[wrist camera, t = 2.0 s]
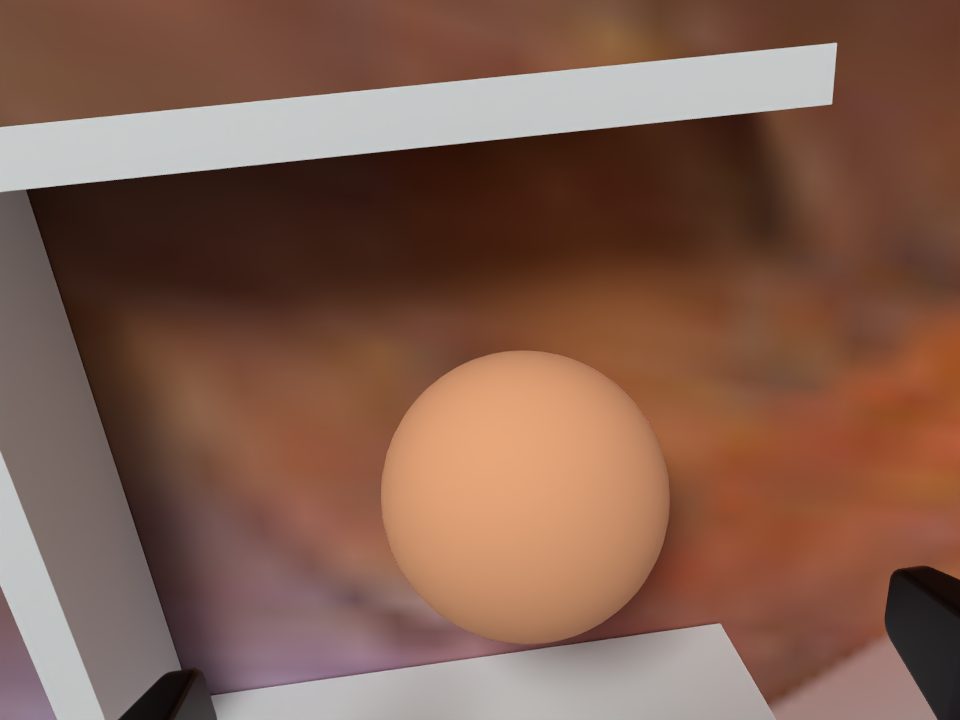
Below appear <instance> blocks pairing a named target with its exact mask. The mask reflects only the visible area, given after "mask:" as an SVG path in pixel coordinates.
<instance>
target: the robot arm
mask: <svg viewBox="0 0 960 720" xmlns="http://www.w3.org/2000/svg"><path fill="white" fill-rule="evenodd" d="M885 627H886V630H887V633H888V636H889V638H890V640H891V641H892V643H893V645H894V647H895V648H896V650H897V652H898V653H899V655H900V657H901V658H902V660H903V662H904V663H905V665H906V667H907V668H908V670H909V672H910V673H911V675H912V677H913V679H914V680H915V682H916V684H917V685H918V687H919V689H920V690H921V692H922V694H923V695H924V697H925V699H926V701H927V702H928V704H929V706H930V707H931V709H932V711H933V712H934V714H935V716H936V717H937V719H938V720H960V580H959V579H957V578H954V577H952V576H950V575H948V574H945V573H943V572H941V571H938V570H936V569H934V568H931V567H928V566H916V567H908V568H901V569H898V570H895V571H894V572H893V574H892V575H891V578H890V583H889V590H888V597H887V604H886V611H885ZM118 720H217V715H216V712H215V709H214V705H213V702H212V699H211V696H210V692H209V689H208V686H207V683H206V679H205V677H204V674H203V673H202V671H201V670H199V669H197V668H191V669H184V670H177V671H171V672H168V673H166V674H164V675H163V676H162V677H160V678H159V679H158V680H157V681H156V682H155V683H154V684H153V685H152V686H151V687H150V688H149V689H148V690H147V691H146V692H145V693H144V694H143V695H142V696H141V697H140V698H139V699H138V700H137V701H136V702H135V703H134V704H133V705H132V706H131V707H130V708H129V709H128V710H127V711H126V712H125V713H124V714H123V715H122V716H121V717H120V718H119V719H118Z"/></svg>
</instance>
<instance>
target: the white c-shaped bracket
mask: <svg viewBox="0 0 960 720" xmlns="http://www.w3.org/2000/svg"><path fill="white" fill-rule="evenodd" d="M836 50H837V43H831V44H821V45H811V46H801V47H791V48H781V49H771V50H761V51H751V52H741V53H732V54H722V55H712V56H702V57H692V58H682V59H672V60H662V61H652V62H643V63H633V64H623V65H613V66H603V67H593V68H583V69H573V70H563V71H553V72H544V73H534V74H524V75H514V76H504V77H494V78H484V79H474V80H464V81H454V82H445V83H435V84H425V85H415V86H405V87H395V88H385V89H375V90H365V91H355V92H346V93H336V94H326V95H316V96H306V97H296V98H286V99H276V100H266V101H256V102H247V103H237V104H227V105H217V106H207V107H197V108H187V109H177V110H167V111H157V112H148V113H138V114H128V115H118V116H108V117H98V118H88V119H78V120H68V121H58V122H49V123H39V124H29V125H19V126H9V127H0V585H1V588H2V590H3V592H4V595H5V597H6V600H7V602H8V604H9V607H10V609H11V611H12V614H13V616H14V618H15V621H16V623H17V626H18V628H19V630H20V633H21V635H22V637H23V640H24V642H25V644H26V647H27V649H28V652H29V654H30V656H31V659H32V661H33V663H34V666H35V668H36V670H37V673H38V675H39V678H40V680H41V682H42V685H43V687H44V689H45V692H46V694H47V696H48V699H49V701H50V704H51V706H52V708H53V711H54V713H55V715H56V718H57V720H118V719H119V718H120V717H121V716H122V715H123V714H124V713H125V712H126V711H127V710H128V709H129V708H130V707H131V706H132V705H133V704H134V703H135V702H136V701H137V700H138V699H139V698H140V697H141V696H142V695H143V694H144V693H145V692H146V691H147V690H148V689H149V688H150V687H151V686H152V685H153V684H154V683H155V682H156V681H157V680H158V679H159V678H160V677H162V676H163V675H164V674H166V673H168V672H171V671H177V670H182V669H181V666H180V663H179V660H178V657H177V654H176V651H175V648H174V645H173V642H172V638H171V635H170V632H169V629H168V626H167V623H166V620H165V617H164V614H163V611H162V608H161V605H160V601H159V598H158V595H157V592H156V589H155V586H154V583H153V580H152V577H151V574H150V571H149V568H148V564H147V561H146V558H145V555H144V552H143V549H142V546H141V543H140V540H139V537H138V534H137V531H136V528H135V524H134V521H133V518H132V515H131V512H130V509H129V506H128V503H127V500H126V497H125V494H124V491H123V487H122V484H121V481H120V478H119V475H118V472H117V469H116V466H115V463H114V460H113V457H112V454H111V451H110V447H109V444H108V441H107V438H106V435H105V432H104V429H103V426H102V423H101V420H100V417H99V414H98V410H97V407H96V404H95V401H94V398H93V395H92V392H91V389H90V386H89V383H88V380H87V377H86V373H85V370H84V367H83V364H82V361H81V358H80V355H79V352H78V349H77V346H76V343H75V340H74V337H73V333H72V330H71V327H70V324H69V321H68V318H67V315H66V312H65V309H64V306H63V303H62V300H61V296H60V293H59V290H58V287H57V284H56V281H55V278H54V275H53V272H52V269H51V266H50V263H49V259H48V256H47V253H46V250H45V247H44V244H43V241H42V238H41V235H40V232H39V229H38V226H37V223H36V219H35V216H34V213H33V210H32V207H31V204H30V201H29V198H28V195H27V192H26V189H33V188H43V187H52V186H62V185H71V184H81V183H90V182H100V181H109V180H119V179H128V178H138V177H147V176H157V175H166V174H176V173H185V172H195V171H204V170H213V169H223V168H232V167H242V166H251V165H261V164H270V163H280V162H289V161H299V160H308V159H318V158H327V157H337V156H346V155H356V154H365V153H375V152H384V151H394V150H403V149H413V148H422V147H432V146H441V145H451V144H460V143H470V142H479V141H489V140H498V139H507V138H517V137H526V136H536V135H545V134H555V133H564V132H574V131H583V130H593V129H602V128H612V127H621V126H631V125H640V124H650V123H659V122H669V121H678V120H688V119H697V118H707V117H716V116H726V115H735V114H745V113H754V112H764V111H773V110H782V109H792V108H801V107H811V106H820V105H830V104H832V98H833V86H834V74H835V62H836ZM211 699H212V702H213V705H214V709H215V712H216V715H217V720H776V718H775V717H774V715H773V713H772V711H771V710H770V708H769V706H768V705H767V703H766V701H765V699H764V698H763V696H762V694H761V693H760V691H759V689H758V687H757V686H756V684H755V682H754V681H753V679H752V677H751V675H750V674H749V672H748V670H747V669H746V667H745V665H744V663H743V662H742V660H741V658H740V657H739V655H738V653H737V651H736V650H735V648H734V646H733V645H732V643H731V641H730V639H729V638H728V636H727V634H726V633H725V631H724V629H723V627H722V626H721V624H720V623H719V624H712V625H705V626H698V627H691V628H684V629H677V630H670V631H662V632H655V633H648V634H641V635H634V636H627V637H620V638H613V639H606V640H599V641H592V642H585V643H578V644H571V645H564V646H557V647H550V648H543V649H536V650H529V651H522V652H515V653H508V654H501V655H494V656H487V657H479V658H472V659H465V660H458V661H451V662H444V663H437V664H430V665H423V666H416V667H409V668H402V669H395V670H388V671H381V672H374V673H367V674H360V675H353V676H346V677H339V678H332V679H325V680H318V681H311V682H304V683H296V684H289V685H282V686H275V687H268V688H261V689H254V690H247V691H240V692H233V693H226V694H219V695H212V696H211Z"/></svg>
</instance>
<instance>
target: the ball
mask: <svg viewBox="0 0 960 720" xmlns="http://www.w3.org/2000/svg"><path fill="white" fill-rule="evenodd" d="M381 505H382V516H383V523H384V527H385V531H386V535H387V538H388V542H389V545H390V548H391V550H392V553H393V555H394V557H395V560H396V562H397V564H398V565H399V567H400V569H401V571H402V572H403V574H404V576H405V577H406V579H407V580H408V582H409V584H410V585H411V586H412V587H413V589H414V590H415V591H416V592H417V593H418V595H419V596H420V597H421V598H422V599H423V600H424V601H425V602H426V603H427V604H428V605H429V606H430V607H432V608H433V609H434V610H435V611H436V612H437V613H438V614H440V615H441V616H443V617H444V618H446V619H447V620H449V621H450V622H452V623H453V624H455V625H457V626H459V627H461V628H463V629H465V630H467V631H469V632H470V633H473V634H476V635H478V636H481V637H484V638H487V639H492V640H496V641H500V642H508V643H516V644H540V643H549V642H554V641H560V640H564V639H567V638H570V637H573V636H576V635H579V634H581V633H583V632H586V631H588V630H590V629H592V628H594V627H596V626H597V625H599V624H601V623H602V622H604V621H605V620H607V619H608V618H610V617H611V616H612V615H614V614H615V613H616V612H617V611H619V610H620V609H621V608H622V607H623V606H624V605H625V604H627V603H628V602H629V601H630V599H631V598H632V597H633V596H634V595H635V594H636V593H637V592H638V590H639V589H640V588H641V586H642V585H643V583H644V582H645V581H646V579H647V577H648V575H649V574H650V572H651V570H652V568H653V566H654V565H655V563H656V561H657V559H658V556H659V554H660V551H661V548H662V546H663V542H664V538H665V534H666V529H667V525H668V521H669V510H670V490H669V477H668V473H667V468H666V464H665V460H664V456H663V452H662V449H661V447H660V444H659V442H658V439H657V437H656V435H655V433H654V431H653V429H652V428H651V426H650V424H649V422H648V421H647V419H646V417H645V416H644V414H643V412H642V411H641V410H640V409H639V407H638V406H637V405H636V404H635V402H634V401H633V400H632V399H631V398H630V397H629V396H628V395H627V394H626V393H625V392H624V391H623V390H622V389H621V388H620V387H619V386H618V385H617V384H616V383H614V382H613V381H612V380H610V379H609V378H607V377H606V376H604V375H603V374H601V373H600V372H598V371H597V370H595V369H593V368H591V367H589V366H587V365H585V364H583V363H581V362H579V361H577V360H574V359H571V358H568V357H565V356H562V355H557V354H552V353H547V352H540V351H525V350H521V351H506V352H500V353H495V354H489V355H486V356H483V357H480V358H477V359H473V360H471V361H469V362H467V363H465V364H462V365H460V366H458V367H456V368H455V369H453V370H451V371H450V372H448V373H447V374H445V375H443V376H442V377H441V378H439V379H438V380H437V381H436V382H435V383H433V384H432V385H431V386H430V387H428V388H427V389H426V390H425V391H424V392H423V393H422V394H421V395H420V396H419V397H418V398H417V399H416V400H415V402H414V403H413V404H412V406H411V407H410V408H409V410H408V411H407V413H406V414H405V416H404V417H403V419H402V421H401V423H400V425H399V426H398V428H397V430H396V432H395V434H394V436H393V438H392V441H391V444H390V446H389V449H388V452H387V456H386V461H385V465H384V470H383V475H382V485H381Z"/></svg>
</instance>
